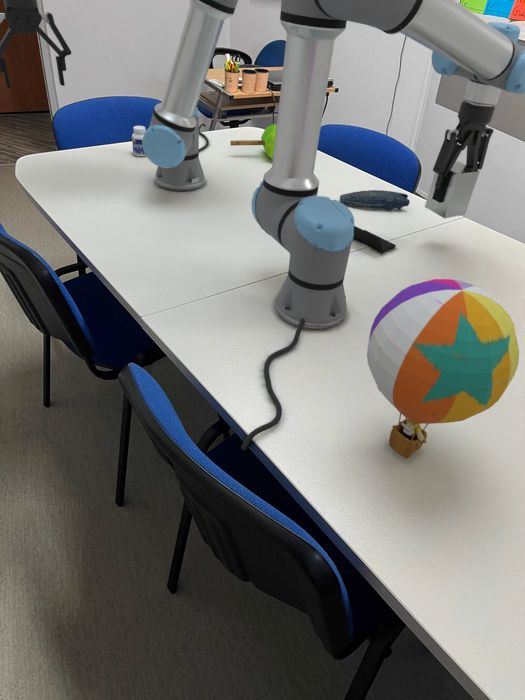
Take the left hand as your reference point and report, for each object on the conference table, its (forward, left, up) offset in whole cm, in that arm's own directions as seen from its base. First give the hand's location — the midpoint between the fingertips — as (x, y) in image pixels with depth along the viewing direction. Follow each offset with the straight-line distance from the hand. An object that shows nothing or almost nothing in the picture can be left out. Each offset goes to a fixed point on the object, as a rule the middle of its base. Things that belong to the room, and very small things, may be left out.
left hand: (35, 85), depth 138 cm
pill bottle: (-36, +12, -27) cm, 47 cm away
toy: (+76, +104, -27) cm, 131 cm away
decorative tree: (-53, +56, -27) cm, 81 cm away
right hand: (0, +112, -13) cm, 112 cm away
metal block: (0, +112, -17) cm, 113 cm away
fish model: (-22, +94, -27) cm, 100 cm away
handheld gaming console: (+5, +94, -27) cm, 98 cm away
